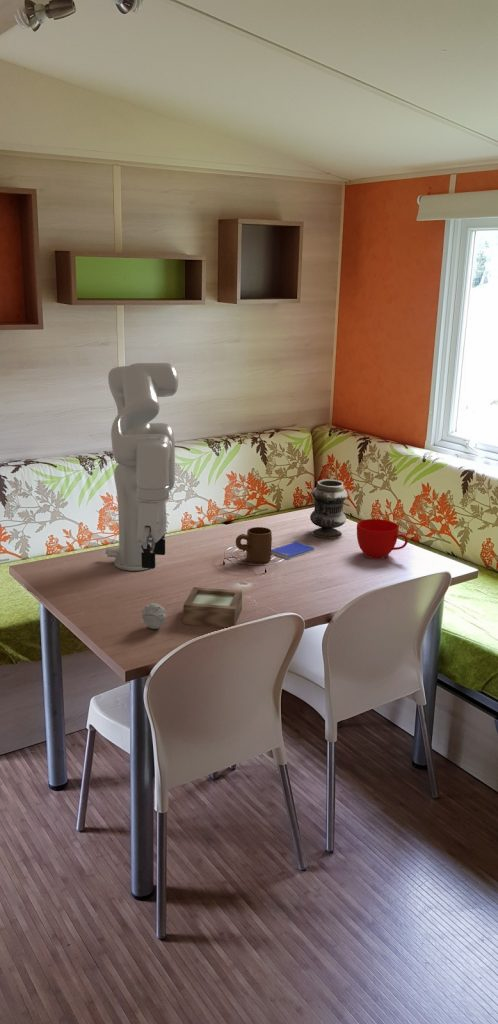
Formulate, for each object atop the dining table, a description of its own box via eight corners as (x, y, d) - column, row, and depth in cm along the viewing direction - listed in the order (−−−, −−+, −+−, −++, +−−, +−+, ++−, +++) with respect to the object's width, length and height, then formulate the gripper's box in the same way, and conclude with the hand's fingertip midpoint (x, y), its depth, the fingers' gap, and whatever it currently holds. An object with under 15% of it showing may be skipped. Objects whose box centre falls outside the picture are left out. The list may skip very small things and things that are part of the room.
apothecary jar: (334, 542, 276) (337, 489, 271) (302, 535, 282) (305, 483, 277) (351, 532, 286) (354, 481, 280) (320, 526, 292) (322, 476, 287)
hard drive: (288, 556, 259) (314, 547, 268) (269, 549, 264) (295, 541, 273) (288, 561, 259) (314, 552, 268) (269, 554, 265) (294, 545, 273)
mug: (241, 568, 251) (242, 538, 249) (229, 560, 258) (229, 530, 255) (275, 561, 257) (276, 532, 255) (262, 554, 264) (263, 525, 261)
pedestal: (183, 623, 212) (183, 604, 211) (193, 605, 224) (193, 587, 222) (234, 628, 211) (234, 609, 209) (241, 609, 222) (242, 590, 221)
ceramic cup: (395, 568, 254) (398, 537, 251) (347, 556, 263) (349, 525, 260) (415, 557, 264) (417, 527, 261) (367, 545, 273) (369, 516, 270)
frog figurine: (138, 633, 207) (137, 606, 205) (147, 621, 213) (146, 596, 211) (161, 635, 206) (161, 609, 204) (170, 624, 212) (170, 598, 210)
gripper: (147, 483, 208) (147, 548, 213) (127, 501, 192) (128, 572, 196) (176, 484, 207) (177, 550, 212) (159, 503, 191) (160, 574, 195)
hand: (153, 560), depth 204 cm, fingers open, 9 cm apart
